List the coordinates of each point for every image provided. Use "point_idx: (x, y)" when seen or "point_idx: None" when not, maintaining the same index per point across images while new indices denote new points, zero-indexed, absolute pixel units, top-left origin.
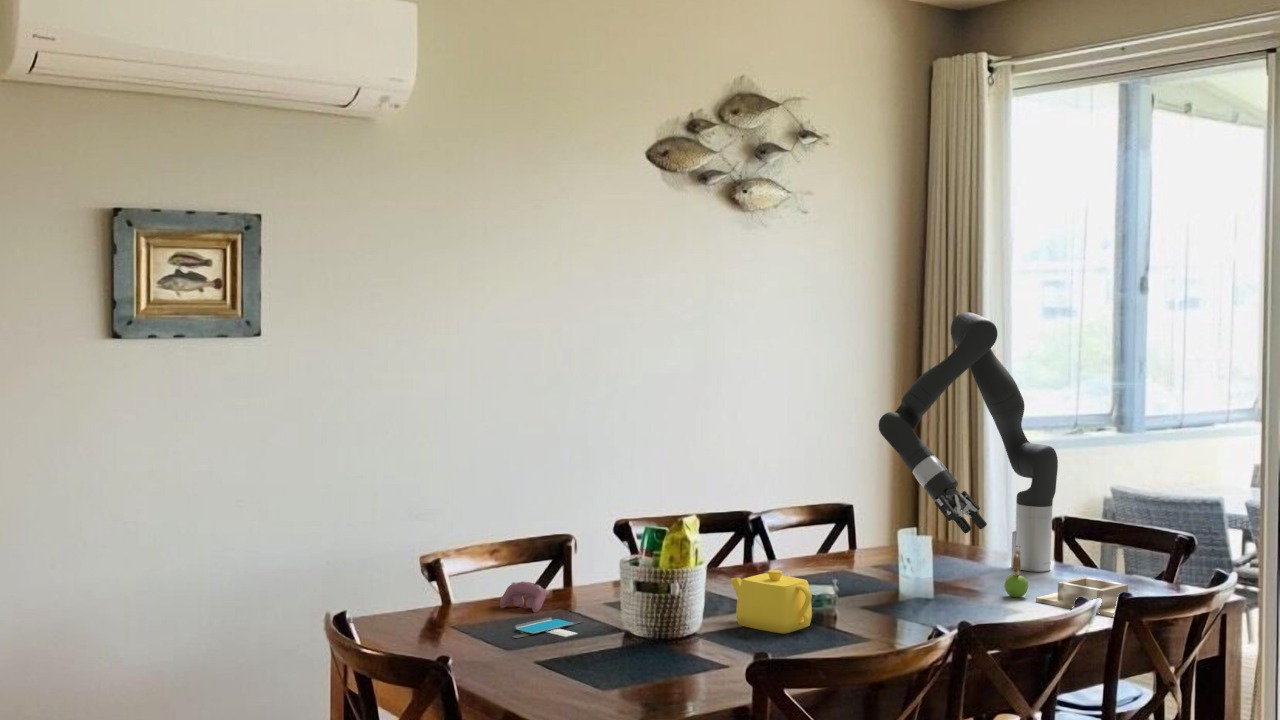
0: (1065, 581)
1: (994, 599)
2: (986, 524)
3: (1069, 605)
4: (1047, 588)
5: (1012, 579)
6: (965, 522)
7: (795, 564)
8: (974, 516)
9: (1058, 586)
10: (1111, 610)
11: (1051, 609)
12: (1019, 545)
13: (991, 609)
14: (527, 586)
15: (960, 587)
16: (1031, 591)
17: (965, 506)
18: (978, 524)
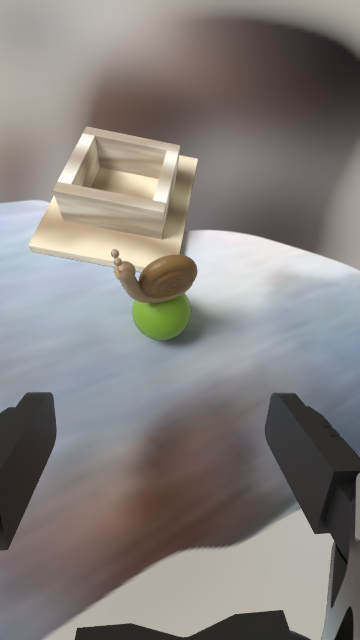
0: (139, 204)
1: (219, 350)
2: (36, 392)
3: (186, 217)
4: (5, 304)
5: (185, 303)
6: (319, 430)
7: None
8: (6, 506)
9: (163, 218)
10: (181, 164)
11: (216, 241)
12: (117, 251)
13: (309, 318)
14: None
15: (143, 494)
16: (68, 320)
17: (97, 632)
18: (41, 454)
